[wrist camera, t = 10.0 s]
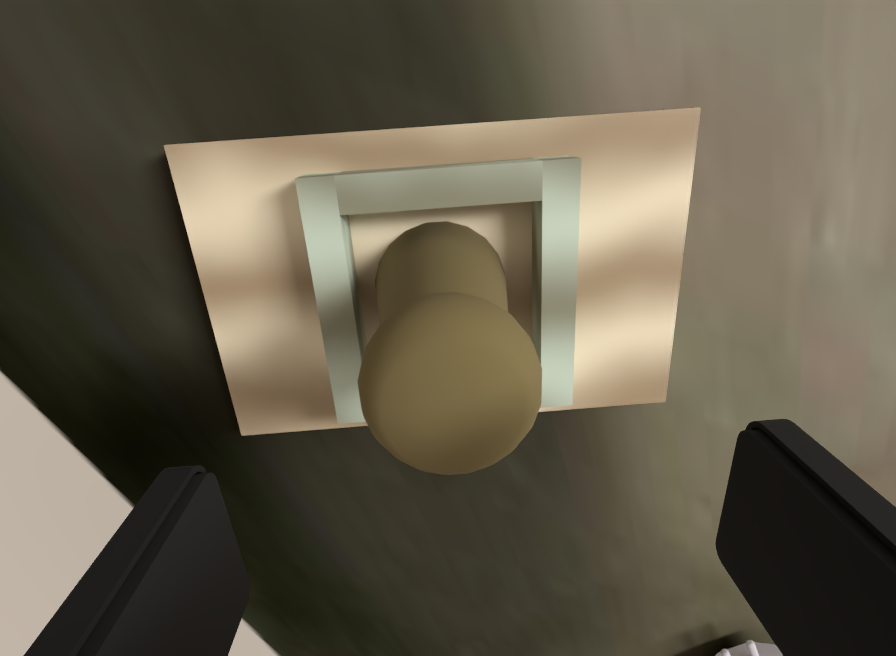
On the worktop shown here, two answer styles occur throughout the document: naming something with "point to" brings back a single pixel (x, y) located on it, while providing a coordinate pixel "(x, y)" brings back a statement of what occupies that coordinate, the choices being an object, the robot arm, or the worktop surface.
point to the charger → (751, 650)
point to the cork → (447, 354)
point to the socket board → (436, 200)
